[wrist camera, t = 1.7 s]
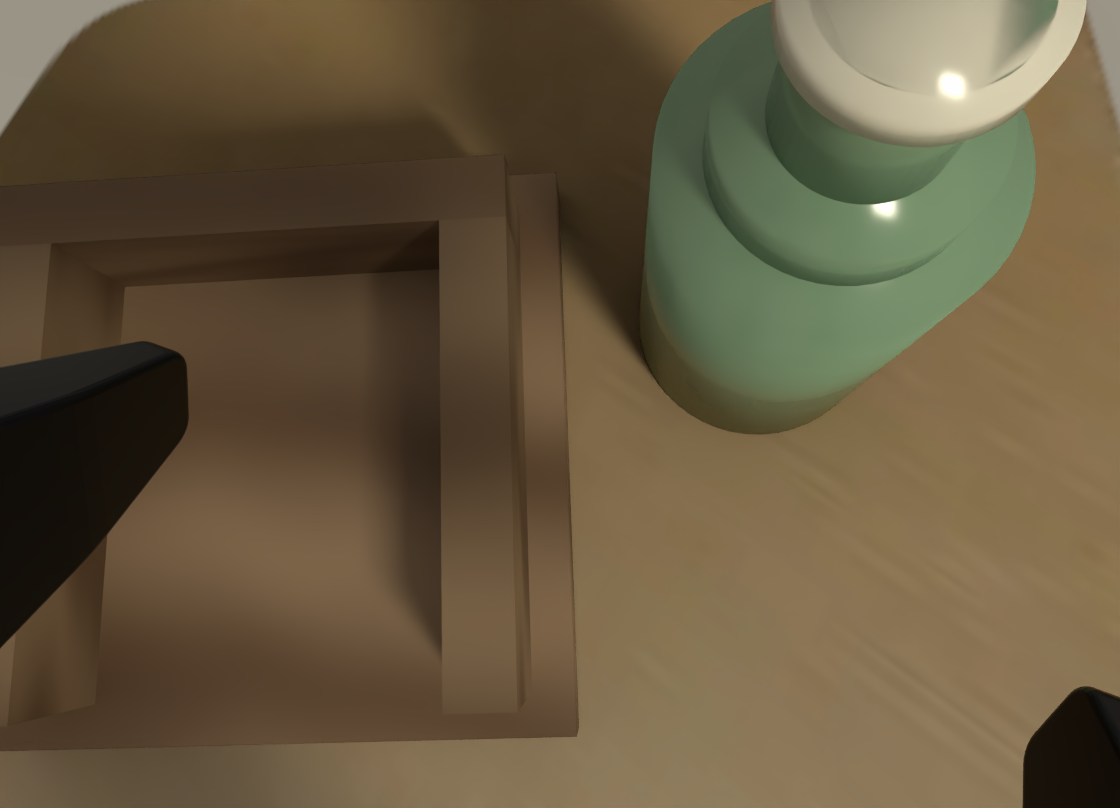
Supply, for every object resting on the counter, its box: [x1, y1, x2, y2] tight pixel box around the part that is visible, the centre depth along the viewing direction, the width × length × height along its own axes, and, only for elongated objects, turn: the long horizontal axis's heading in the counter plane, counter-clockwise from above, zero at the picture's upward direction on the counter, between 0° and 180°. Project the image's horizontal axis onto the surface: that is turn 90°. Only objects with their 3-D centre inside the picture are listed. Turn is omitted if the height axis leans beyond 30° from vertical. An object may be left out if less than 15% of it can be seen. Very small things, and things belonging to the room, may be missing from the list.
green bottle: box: [639, 0, 1086, 434], centre depth 16 cm, size 6×6×13 cm
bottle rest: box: [0, 154, 579, 751], centre depth 20 cm, size 14×14×4 cm
